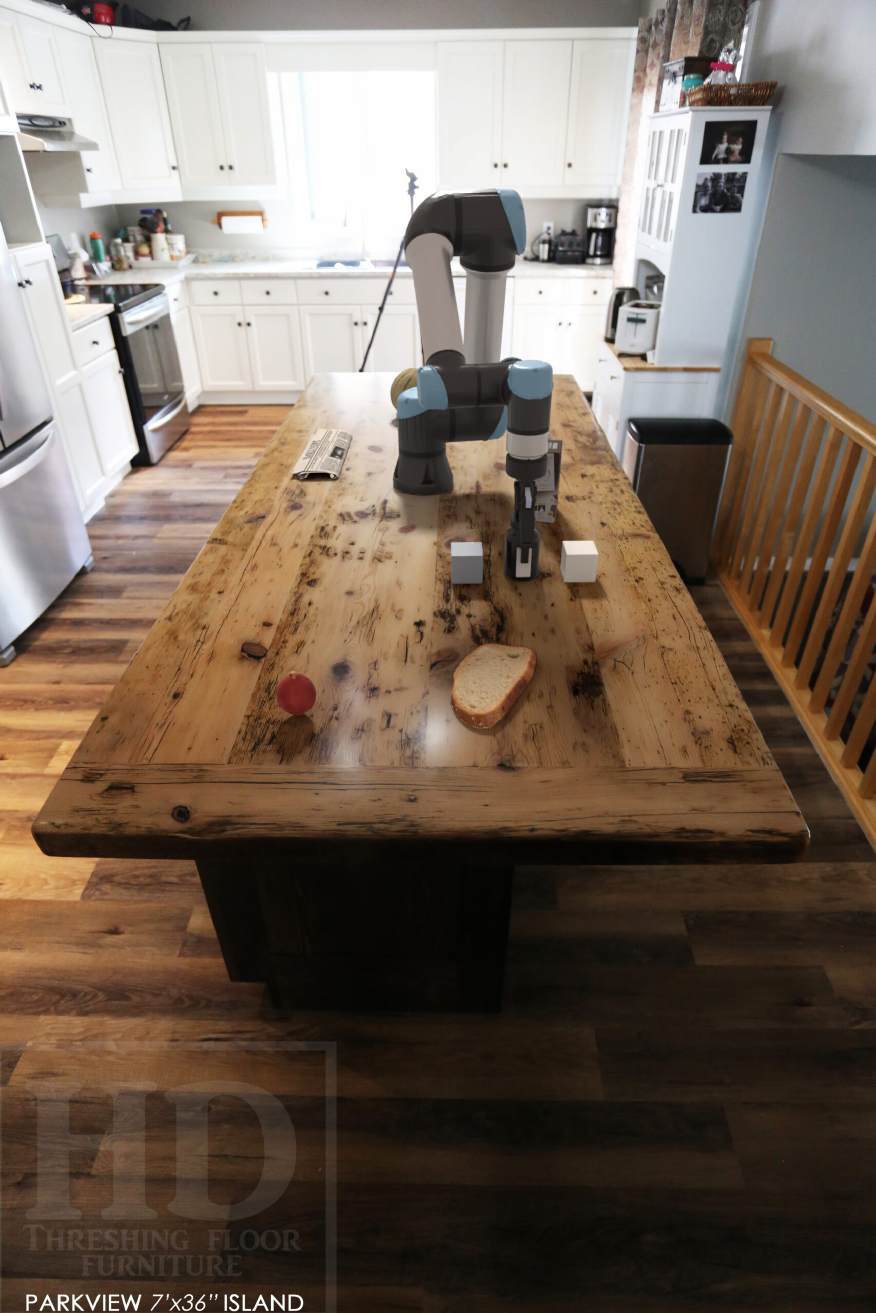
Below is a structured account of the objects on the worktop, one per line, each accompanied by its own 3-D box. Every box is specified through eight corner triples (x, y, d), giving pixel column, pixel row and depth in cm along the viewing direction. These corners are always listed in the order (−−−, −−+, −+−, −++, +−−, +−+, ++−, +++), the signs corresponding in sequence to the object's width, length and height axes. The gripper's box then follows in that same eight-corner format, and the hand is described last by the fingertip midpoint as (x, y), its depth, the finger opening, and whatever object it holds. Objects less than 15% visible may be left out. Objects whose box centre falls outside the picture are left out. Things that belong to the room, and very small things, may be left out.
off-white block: (564, 582, 148) (566, 554, 144) (560, 568, 153) (562, 541, 149) (595, 582, 148) (598, 554, 144) (590, 568, 153) (593, 540, 149)
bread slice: (471, 736, 110) (471, 715, 108) (421, 672, 124) (420, 653, 122) (576, 703, 116) (578, 683, 114) (517, 645, 130) (518, 627, 128)
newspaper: (338, 481, 196) (337, 468, 194) (290, 481, 196) (288, 468, 194) (353, 437, 225) (352, 425, 223) (311, 438, 225) (309, 426, 223)
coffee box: (555, 523, 171) (560, 453, 162) (526, 521, 172) (530, 451, 163) (558, 507, 178) (563, 439, 169) (530, 505, 179) (534, 438, 170)
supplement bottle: (541, 568, 152) (545, 512, 146) (533, 584, 147) (537, 526, 140) (508, 564, 154) (510, 508, 148) (499, 579, 149) (501, 522, 142)
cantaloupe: (384, 414, 242) (382, 365, 234) (426, 408, 247) (425, 359, 239) (402, 426, 231) (400, 375, 223) (446, 420, 236) (445, 369, 228)
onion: (281, 703, 117) (274, 660, 112) (319, 701, 117) (313, 658, 112) (278, 727, 112) (270, 683, 107) (317, 725, 112) (311, 681, 108)
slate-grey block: (451, 584, 148) (451, 556, 145) (451, 569, 153) (450, 542, 150) (482, 583, 148) (482, 555, 144) (481, 569, 153) (481, 542, 149)
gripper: (554, 472, 129) (546, 591, 141) (541, 435, 145) (535, 544, 158) (510, 473, 129) (505, 591, 142) (502, 435, 145) (498, 544, 158)
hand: (521, 566), depth 150 cm, fingers open, 7 cm apart
